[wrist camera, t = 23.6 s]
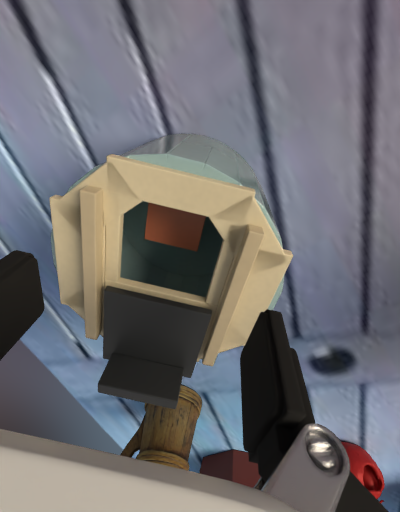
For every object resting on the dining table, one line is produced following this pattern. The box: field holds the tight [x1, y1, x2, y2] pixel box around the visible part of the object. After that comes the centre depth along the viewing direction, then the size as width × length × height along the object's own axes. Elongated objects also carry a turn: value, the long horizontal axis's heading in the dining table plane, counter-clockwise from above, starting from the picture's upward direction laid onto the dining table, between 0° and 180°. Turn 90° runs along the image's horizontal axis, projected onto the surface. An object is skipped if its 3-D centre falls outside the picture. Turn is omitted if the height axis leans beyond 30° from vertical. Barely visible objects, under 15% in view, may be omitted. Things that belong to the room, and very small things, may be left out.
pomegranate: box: [341, 442, 384, 503], centre depth 40 cm, size 10×10×9 cm
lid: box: [50, 154, 293, 366], centre depth 15 cm, size 13×13×2 cm
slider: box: [98, 286, 212, 409], centre depth 16 cm, size 7×7×3 cm
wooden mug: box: [121, 385, 202, 471], centre depth 34 cm, size 9×14×18 cm, turn 101°
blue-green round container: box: [51, 134, 285, 310], centre depth 20 cm, size 14×14×10 cm
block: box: [144, 203, 206, 252], centre depth 21 cm, size 4×4×5 cm
